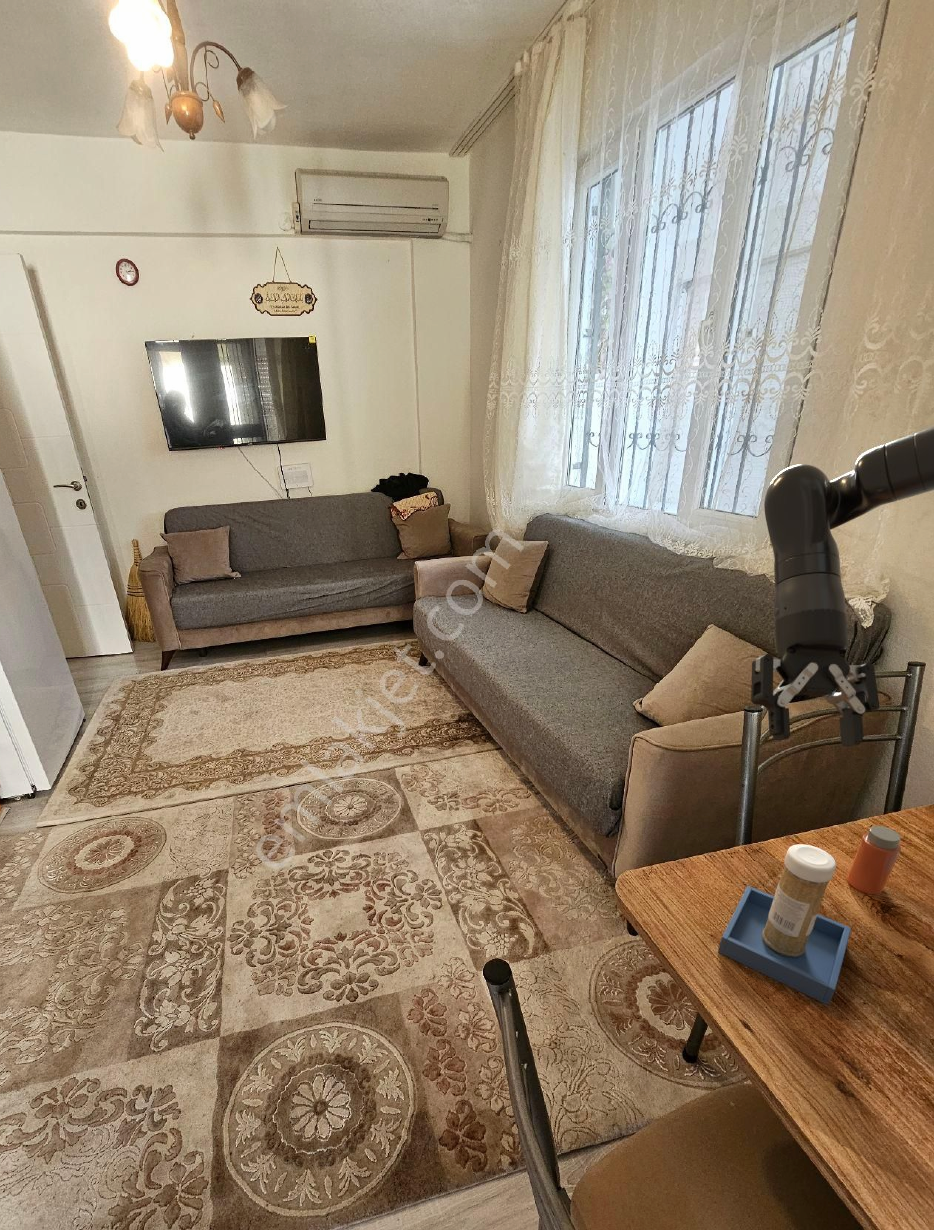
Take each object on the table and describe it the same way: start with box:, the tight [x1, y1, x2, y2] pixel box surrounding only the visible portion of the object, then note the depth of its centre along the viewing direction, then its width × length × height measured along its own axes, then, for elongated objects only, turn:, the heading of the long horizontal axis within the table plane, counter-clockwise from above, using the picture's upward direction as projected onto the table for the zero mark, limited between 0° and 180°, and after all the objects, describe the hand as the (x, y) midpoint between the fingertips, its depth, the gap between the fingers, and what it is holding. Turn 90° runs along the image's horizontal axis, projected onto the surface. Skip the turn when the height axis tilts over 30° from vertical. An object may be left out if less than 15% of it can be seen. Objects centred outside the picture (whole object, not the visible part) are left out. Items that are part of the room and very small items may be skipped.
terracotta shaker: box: [846, 825, 902, 895], centre depth 77 cm, size 4×4×9 cm
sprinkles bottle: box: [762, 843, 837, 957], centre depth 67 cm, size 5×5×14 cm
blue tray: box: [717, 885, 852, 1006], centre depth 69 cm, size 11×11×2 cm
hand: (816, 742), depth 70 cm, fingers open, 8 cm apart
